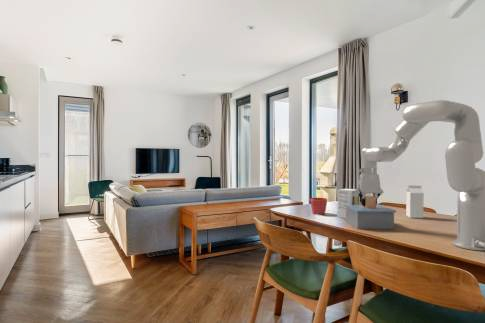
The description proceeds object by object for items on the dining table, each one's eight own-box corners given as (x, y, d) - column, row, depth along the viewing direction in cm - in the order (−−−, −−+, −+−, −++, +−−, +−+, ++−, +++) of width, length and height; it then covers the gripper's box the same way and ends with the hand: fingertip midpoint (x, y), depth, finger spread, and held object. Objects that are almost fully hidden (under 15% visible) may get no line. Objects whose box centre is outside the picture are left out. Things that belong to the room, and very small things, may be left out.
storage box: (393, 229, 150) (394, 213, 150) (357, 228, 151) (357, 212, 150) (378, 221, 168) (378, 207, 168) (345, 221, 169) (346, 207, 168)
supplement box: (351, 219, 173) (351, 190, 173) (337, 217, 180) (337, 189, 180) (359, 217, 179) (359, 189, 179) (345, 215, 186) (345, 188, 186)
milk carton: (423, 218, 176) (423, 186, 176) (410, 218, 178) (410, 186, 178) (418, 216, 183) (419, 185, 183) (406, 215, 185) (406, 185, 185)
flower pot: (309, 214, 188) (309, 199, 188) (310, 211, 199) (310, 197, 198) (326, 215, 185) (327, 200, 185) (327, 212, 195) (327, 197, 195)
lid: (396, 214, 149) (396, 198, 149) (357, 214, 150) (357, 198, 150) (379, 208, 168) (379, 194, 168) (345, 208, 169) (345, 194, 169)
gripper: (355, 171, 155) (355, 207, 155) (388, 171, 155) (388, 207, 155) (350, 171, 163) (350, 204, 163) (382, 171, 163) (382, 204, 163)
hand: (369, 205), depth 159 cm, fingers closed on lid, 5 cm apart
